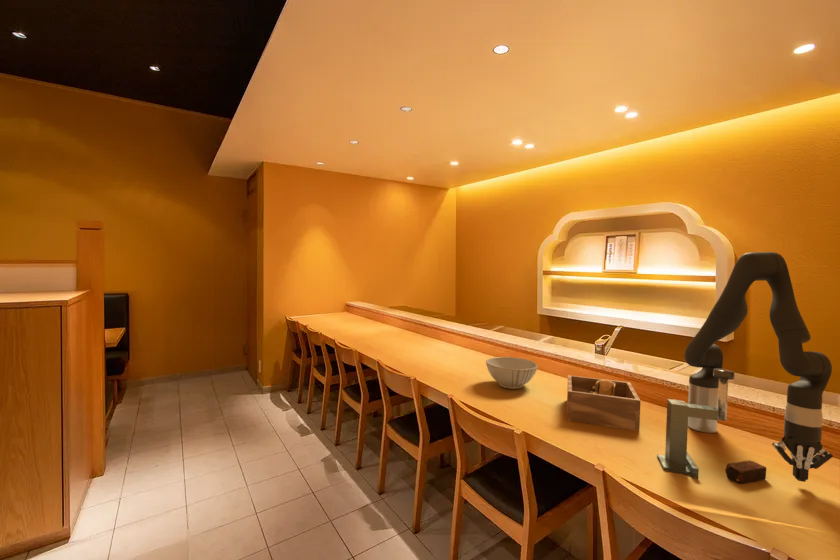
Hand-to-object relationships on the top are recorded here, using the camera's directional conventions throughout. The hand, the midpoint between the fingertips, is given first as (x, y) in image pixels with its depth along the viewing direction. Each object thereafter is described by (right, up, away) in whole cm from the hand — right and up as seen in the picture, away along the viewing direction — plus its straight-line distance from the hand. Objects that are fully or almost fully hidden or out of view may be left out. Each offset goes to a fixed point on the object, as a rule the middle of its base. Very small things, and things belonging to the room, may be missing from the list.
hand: (799, 479), depth 108 cm
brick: (-13, +2, 0) cm, 13 cm away
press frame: (-26, -2, +10) cm, 28 cm away
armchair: (-29, -1, +55) cm, 62 cm away
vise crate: (-32, 0, +53) cm, 62 cm away
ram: (-17, +15, +6) cm, 24 cm away
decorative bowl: (-61, +1, +92) cm, 110 cm away
